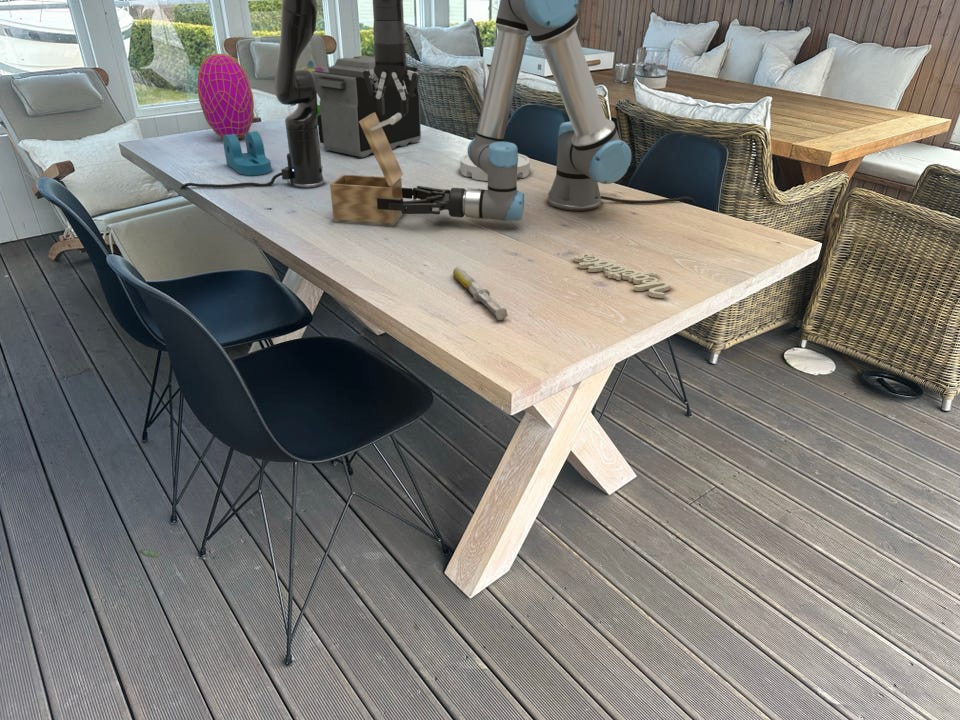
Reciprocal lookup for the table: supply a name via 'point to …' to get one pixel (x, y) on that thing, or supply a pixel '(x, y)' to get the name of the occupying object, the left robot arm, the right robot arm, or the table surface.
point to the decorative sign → (625, 274)
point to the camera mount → (246, 154)
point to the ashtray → (476, 173)
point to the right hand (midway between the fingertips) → (383, 197)
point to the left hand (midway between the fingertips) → (393, 114)
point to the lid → (382, 146)
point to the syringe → (479, 293)
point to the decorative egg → (225, 95)
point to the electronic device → (361, 108)
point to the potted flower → (311, 68)
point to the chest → (364, 200)
